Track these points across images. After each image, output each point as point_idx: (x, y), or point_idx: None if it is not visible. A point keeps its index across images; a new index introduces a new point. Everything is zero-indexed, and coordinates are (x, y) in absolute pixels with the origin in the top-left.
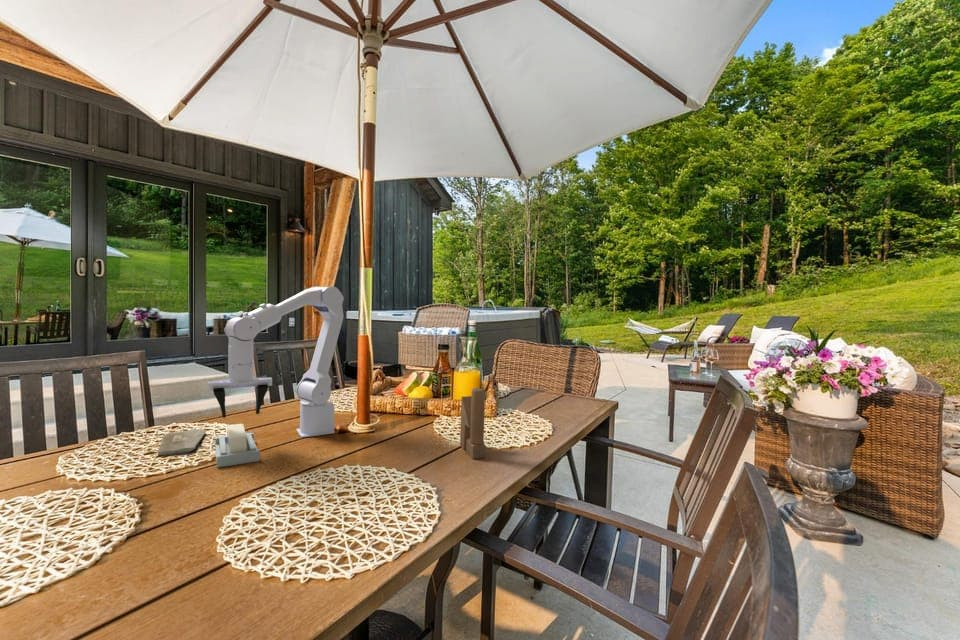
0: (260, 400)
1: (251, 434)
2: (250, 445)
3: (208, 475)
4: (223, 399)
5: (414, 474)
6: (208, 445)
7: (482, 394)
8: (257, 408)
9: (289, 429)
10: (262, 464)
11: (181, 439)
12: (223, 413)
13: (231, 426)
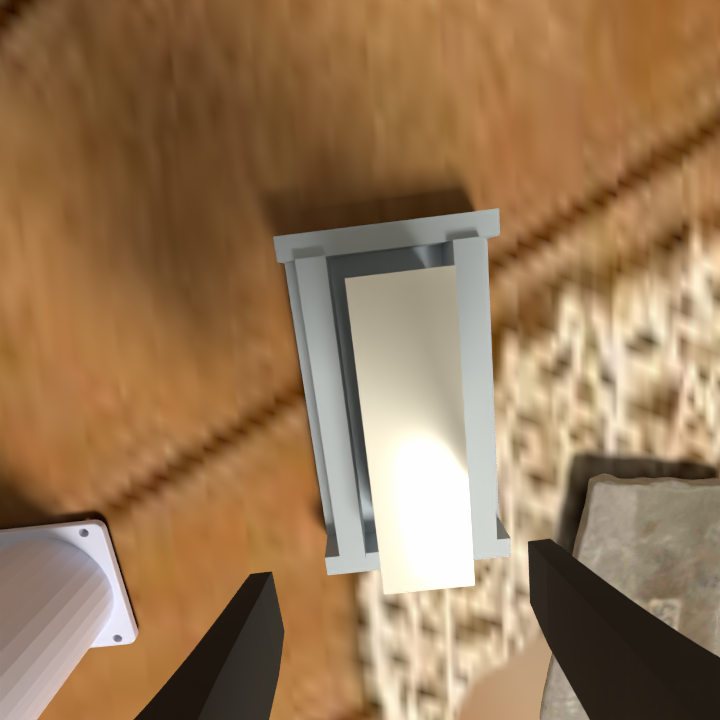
0: (165, 709)
1: (336, 554)
2: (327, 323)
3: (513, 114)
4: None
5: None
6: (520, 550)
7: None
8: (244, 610)
9: (177, 661)
10: (268, 181)
11: None
12: (571, 563)
13: (451, 550)
